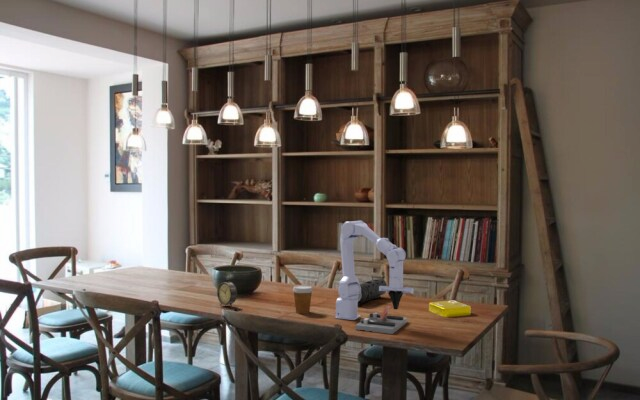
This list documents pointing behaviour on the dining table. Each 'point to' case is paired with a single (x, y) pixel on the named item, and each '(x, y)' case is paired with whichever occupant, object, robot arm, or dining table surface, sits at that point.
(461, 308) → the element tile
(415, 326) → the dining table surface
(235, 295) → the alarm clock
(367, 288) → the muzzle brake
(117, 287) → the dining table surface
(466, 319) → the dining table surface
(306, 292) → the disposable coffee cup
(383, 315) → the lever
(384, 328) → the box
